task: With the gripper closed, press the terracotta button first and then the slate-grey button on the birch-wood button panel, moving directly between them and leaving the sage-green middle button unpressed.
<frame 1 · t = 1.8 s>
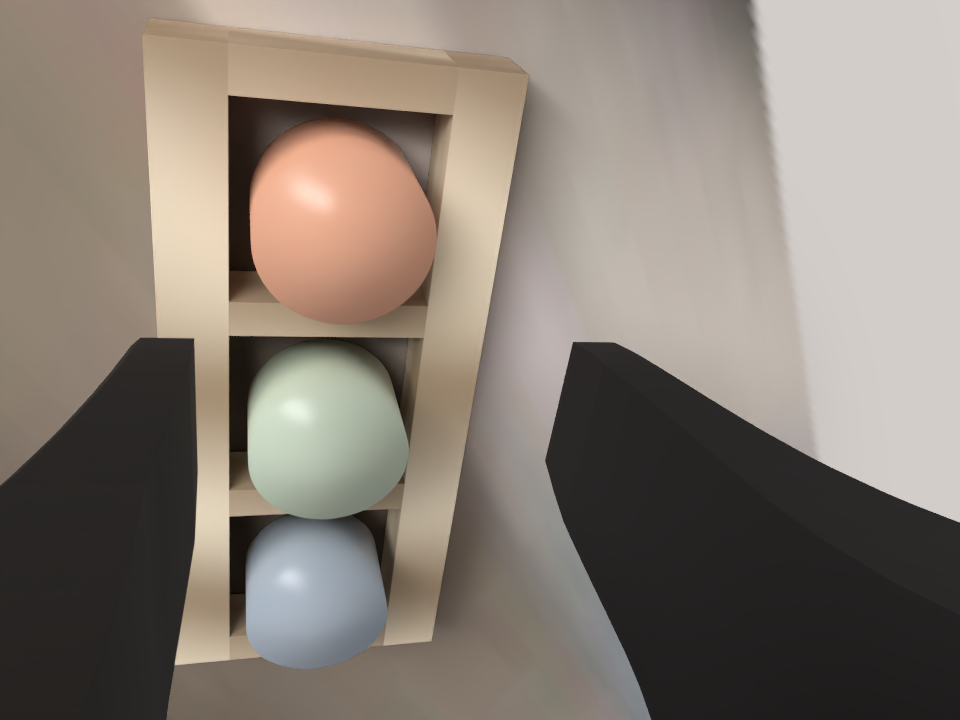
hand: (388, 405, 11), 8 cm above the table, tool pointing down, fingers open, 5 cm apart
sage button: (326, 428, 19), point 2 cm above the table, slide at 0.0 cm
slate button: (315, 588, 21), point 2 cm above the table, slide at 0.0 cm
terracotta button: (340, 220, 16), point 2 cm above the table, slide at 0.0 cm
button panel: (319, 380, 20), on the table
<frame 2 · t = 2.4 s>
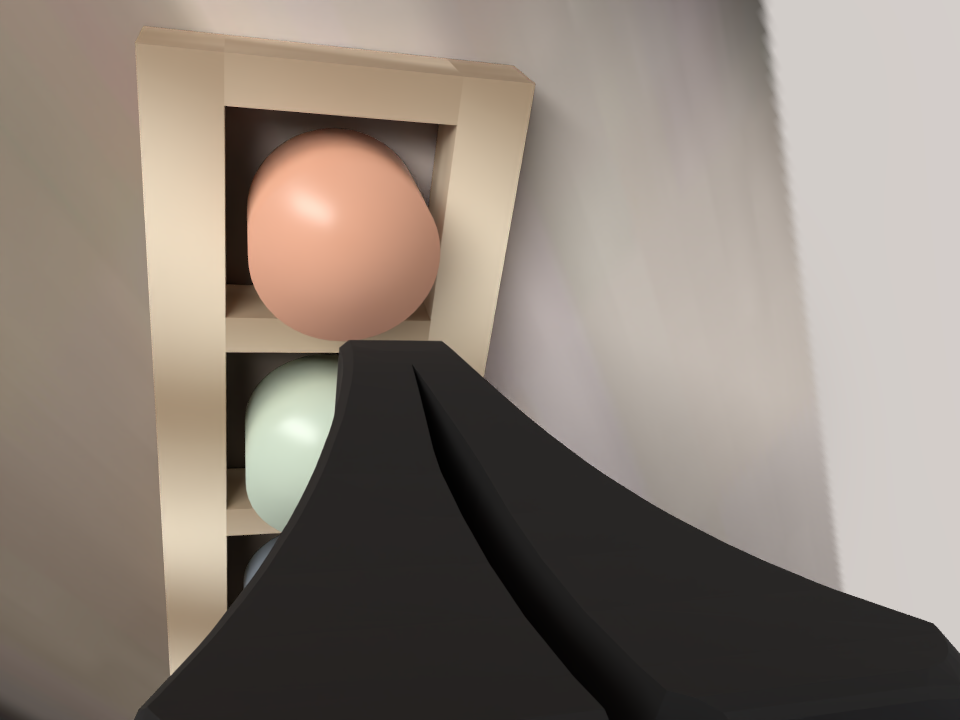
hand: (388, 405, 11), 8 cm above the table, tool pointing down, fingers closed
sage button: (325, 446, 18), point 2 cm above the table, slide at 0.0 cm
slate button: (314, 608, 21), point 2 cm above the table, slide at 0.0 cm
terracotta button: (340, 234, 16), point 2 cm above the table, slide at 0.0 cm
button panel: (318, 396, 20), on the table
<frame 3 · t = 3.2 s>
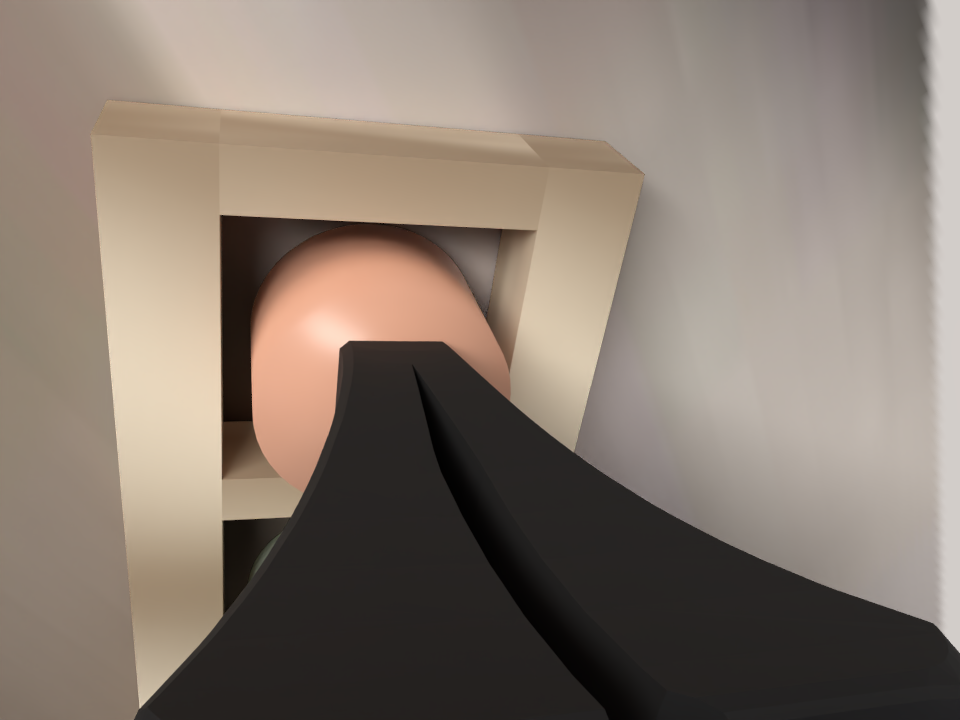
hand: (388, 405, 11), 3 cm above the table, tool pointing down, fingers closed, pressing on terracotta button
sage button: (352, 628, 14), point 2 cm above the table, slide at 0.0 cm
terracotta button: (375, 365, 12), point 2 cm above the table, slide at 0.4 cm, touching gripper
button panel: (340, 545, 16), on the table
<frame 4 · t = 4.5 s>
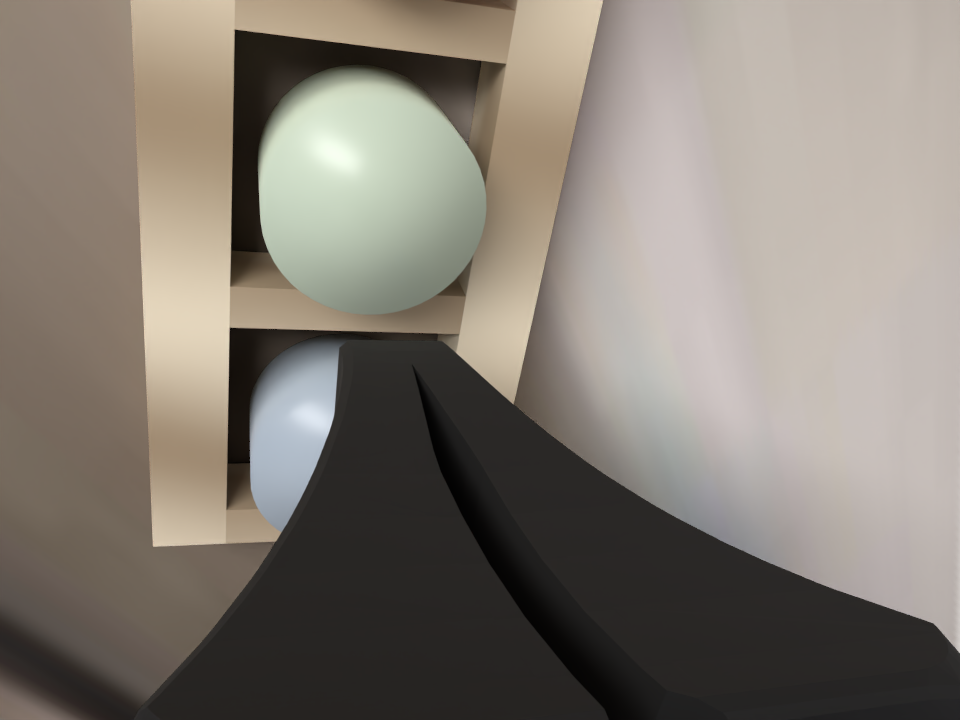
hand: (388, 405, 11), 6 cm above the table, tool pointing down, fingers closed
sage button: (367, 189, 13), point 2 cm above the table, slide at 0.0 cm
slate button: (342, 439, 16), point 2 cm above the table, slide at 0.0 cm
button panel: (354, 150, 15), on the table
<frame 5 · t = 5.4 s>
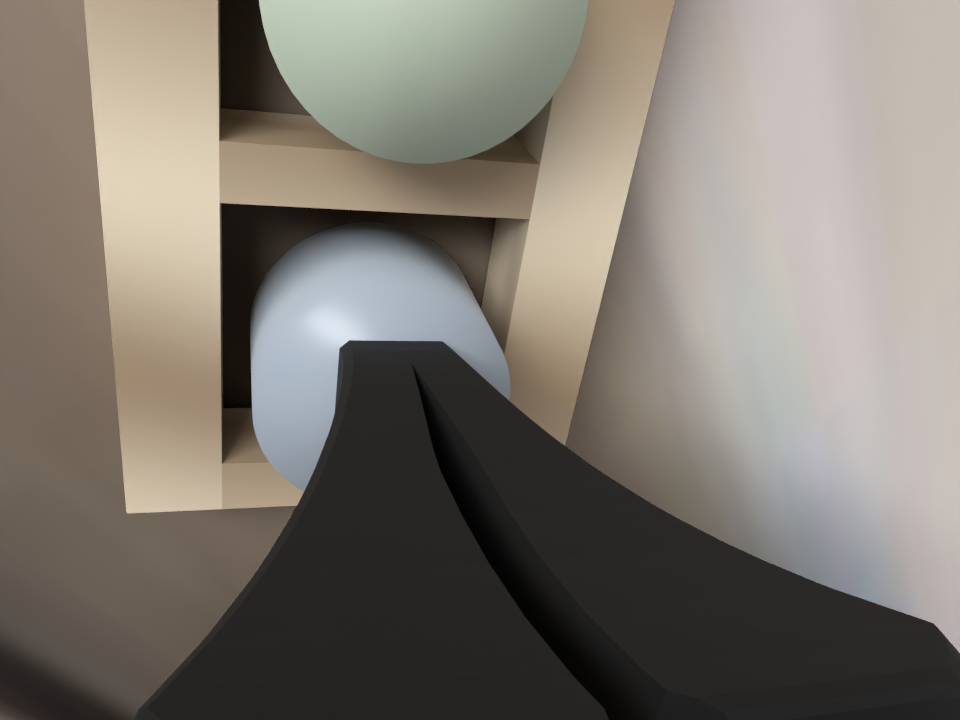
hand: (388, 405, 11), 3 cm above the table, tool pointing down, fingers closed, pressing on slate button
slate button: (374, 363, 12), point 2 cm above the table, slide at 0.0 cm, touching gripper
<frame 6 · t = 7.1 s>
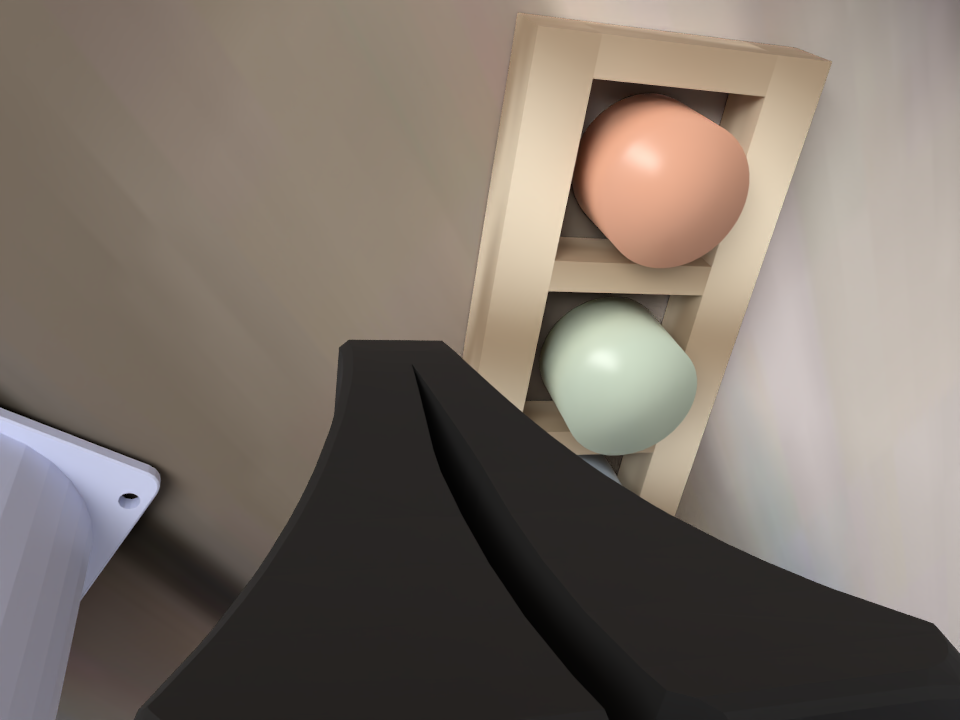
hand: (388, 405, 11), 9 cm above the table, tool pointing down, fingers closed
sage button: (615, 375, 21), point 2 cm above the table, slide at 0.0 cm
slate button: (570, 512, 24), point 2 cm above the table, slide at 0.5 cm
terracotta button: (657, 180, 19), point 1 cm above the table, slide at 0.5 cm
button panel: (588, 337, 23), on the table
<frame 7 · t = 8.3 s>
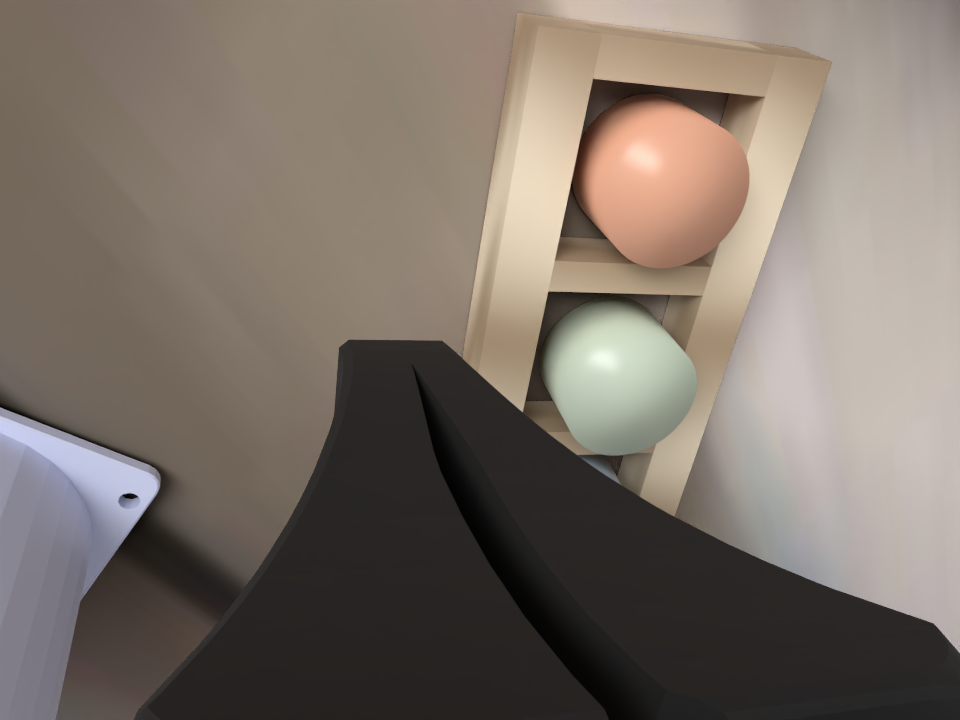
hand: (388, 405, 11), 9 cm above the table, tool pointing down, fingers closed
sage button: (615, 376, 21), point 2 cm above the table, slide at 0.0 cm
slate button: (569, 512, 24), point 2 cm above the table, slide at 0.5 cm
terracotta button: (657, 180, 19), point 1 cm above the table, slide at 0.5 cm
button panel: (588, 337, 23), on the table
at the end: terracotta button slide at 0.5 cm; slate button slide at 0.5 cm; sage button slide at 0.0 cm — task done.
